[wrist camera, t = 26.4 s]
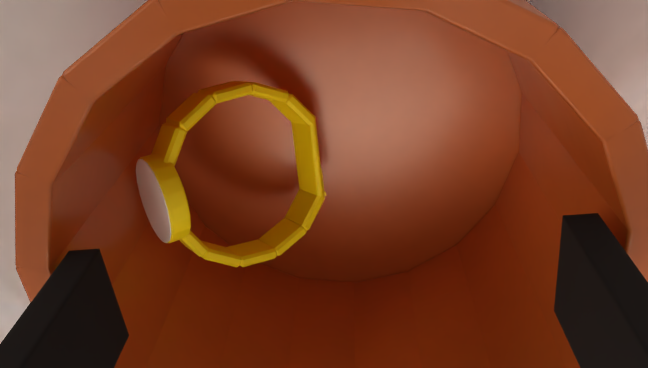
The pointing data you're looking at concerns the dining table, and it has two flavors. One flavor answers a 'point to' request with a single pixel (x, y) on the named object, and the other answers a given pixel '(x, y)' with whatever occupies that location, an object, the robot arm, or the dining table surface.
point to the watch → (170, 198)
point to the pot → (338, 181)
